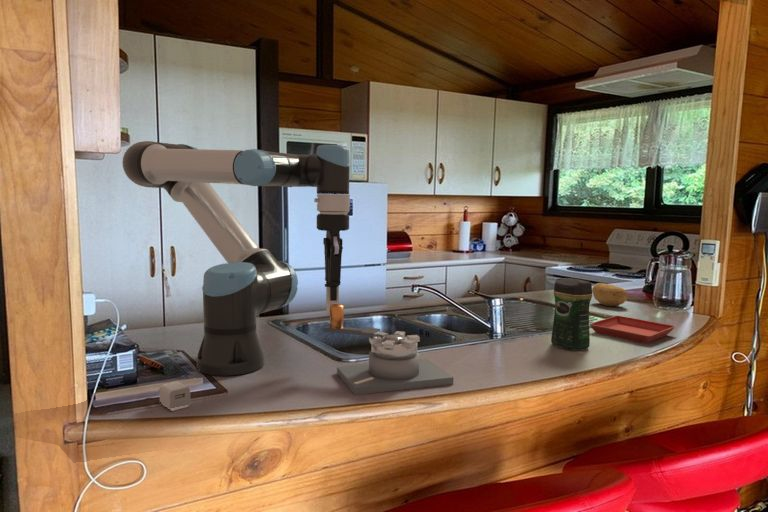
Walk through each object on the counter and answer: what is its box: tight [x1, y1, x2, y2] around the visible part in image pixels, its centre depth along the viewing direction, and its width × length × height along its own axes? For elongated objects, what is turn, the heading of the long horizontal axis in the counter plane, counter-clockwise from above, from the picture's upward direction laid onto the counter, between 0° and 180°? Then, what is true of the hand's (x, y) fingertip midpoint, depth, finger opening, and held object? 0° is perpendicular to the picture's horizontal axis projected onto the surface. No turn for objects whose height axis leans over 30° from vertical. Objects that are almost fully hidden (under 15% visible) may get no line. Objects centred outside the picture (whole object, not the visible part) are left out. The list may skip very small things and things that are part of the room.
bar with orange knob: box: [324, 303, 421, 360], centre depth 123 cm, size 21×11×10 cm, turn 73°
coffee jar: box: [550, 277, 593, 351], centre depth 150 cm, size 10×8×19 cm
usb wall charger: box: [158, 380, 191, 409], centre depth 106 cm, size 4×7×4 cm, turn 44°
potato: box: [592, 282, 629, 307], centre depth 208 cm, size 10×14×8 cm
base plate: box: [336, 351, 454, 396], centre depth 122 cm, size 22×14×6 cm, turn 109°
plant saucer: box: [589, 315, 676, 344], centre depth 166 cm, size 18×18×3 cm
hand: (332, 313), depth 132 cm, fingers closed
